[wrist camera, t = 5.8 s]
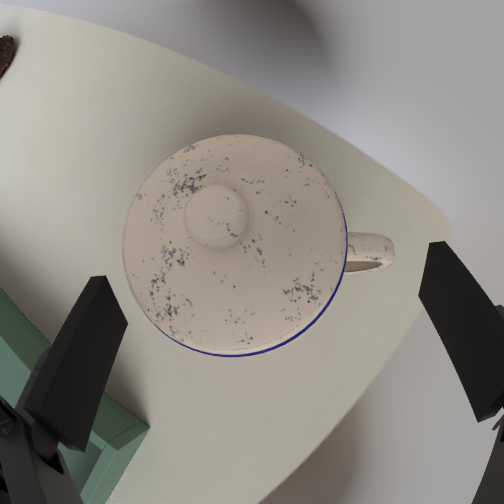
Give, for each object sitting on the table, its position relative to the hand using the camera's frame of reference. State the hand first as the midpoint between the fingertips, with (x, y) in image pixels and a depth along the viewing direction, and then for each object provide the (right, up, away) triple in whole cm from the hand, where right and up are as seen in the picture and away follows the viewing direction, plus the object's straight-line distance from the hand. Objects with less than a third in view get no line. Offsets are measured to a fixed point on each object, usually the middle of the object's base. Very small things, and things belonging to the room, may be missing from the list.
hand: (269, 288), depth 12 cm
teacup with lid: (+1, 0, +8) cm, 8 cm away
